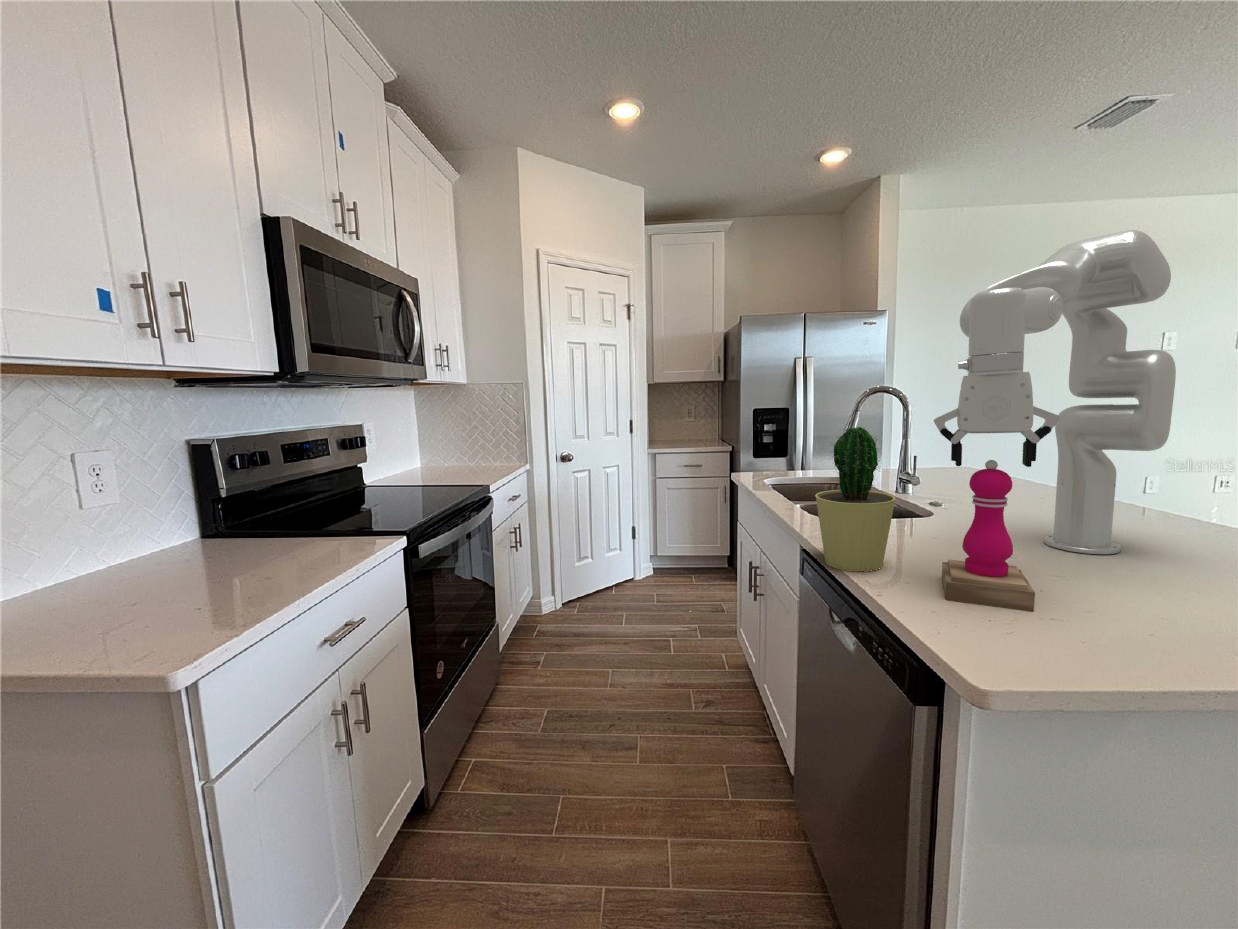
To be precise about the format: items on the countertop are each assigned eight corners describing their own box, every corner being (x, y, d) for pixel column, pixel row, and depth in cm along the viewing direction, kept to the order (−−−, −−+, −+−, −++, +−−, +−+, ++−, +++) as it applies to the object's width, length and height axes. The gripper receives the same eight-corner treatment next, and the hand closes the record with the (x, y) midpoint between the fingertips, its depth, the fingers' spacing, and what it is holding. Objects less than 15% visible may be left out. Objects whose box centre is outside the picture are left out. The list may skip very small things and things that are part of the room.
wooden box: (941, 577, 98) (942, 557, 97) (1019, 586, 92) (1020, 565, 92) (946, 599, 88) (946, 577, 87) (1033, 611, 82) (1035, 587, 81)
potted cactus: (853, 549, 118) (855, 421, 114) (911, 568, 104) (915, 423, 100) (799, 558, 113) (799, 425, 109) (852, 580, 99) (855, 427, 95)
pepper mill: (997, 581, 85) (1003, 464, 82) (952, 569, 91) (957, 460, 88) (1020, 573, 88) (1027, 459, 85) (976, 562, 94) (981, 456, 92)
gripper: (935, 369, 86) (933, 468, 88) (1068, 360, 77) (1062, 469, 80) (933, 370, 92) (932, 461, 95) (1055, 361, 84) (1050, 462, 86)
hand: (991, 465), depth 87 cm, fingers open, 9 cm apart
